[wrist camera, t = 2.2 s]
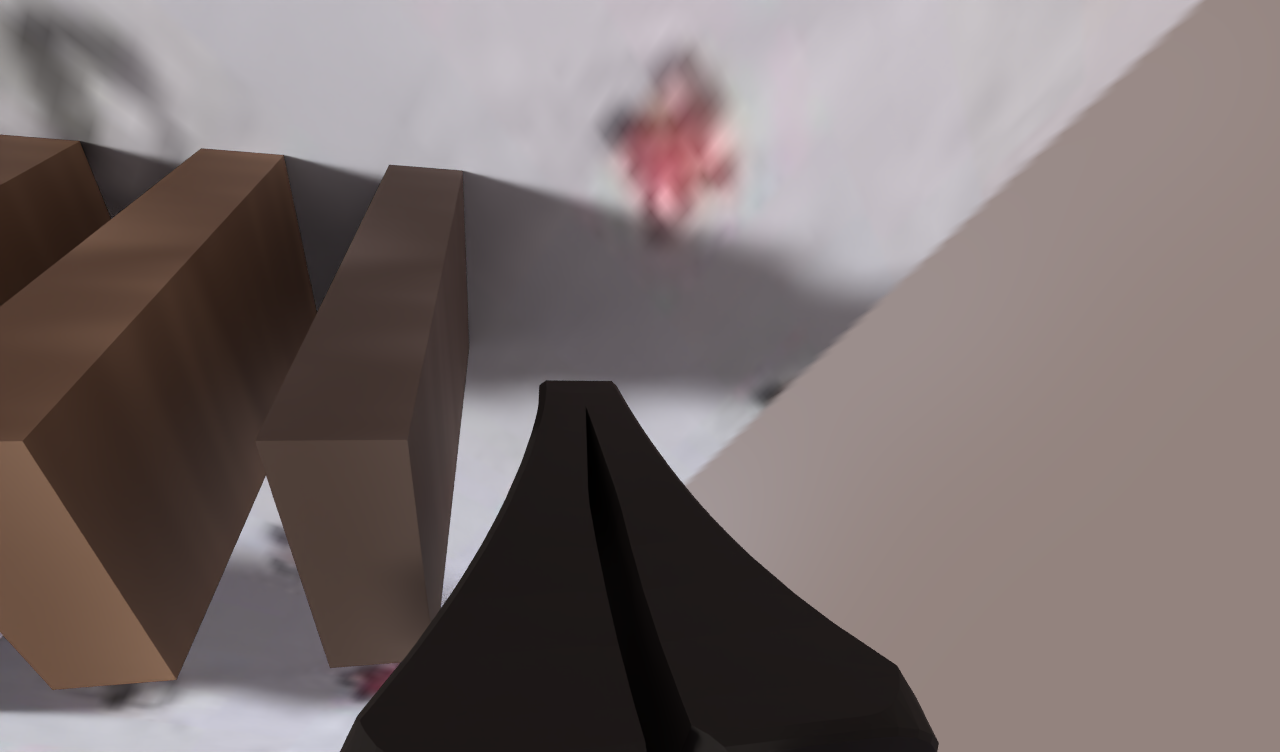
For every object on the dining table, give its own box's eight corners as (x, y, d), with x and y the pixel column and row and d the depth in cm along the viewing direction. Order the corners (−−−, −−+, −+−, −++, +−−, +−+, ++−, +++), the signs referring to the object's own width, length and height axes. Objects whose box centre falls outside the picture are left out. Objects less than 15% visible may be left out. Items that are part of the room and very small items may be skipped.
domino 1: (283, 155, 13) (22, 441, 6) (323, 343, 16) (176, 679, 9) (200, 148, 13) (-173, 442, 6) (257, 342, 16) (52, 690, 9)
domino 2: (462, 171, 14) (407, 439, 7) (469, 347, 17) (434, 659, 10) (389, 164, 14) (254, 441, 7) (408, 346, 17) (330, 668, 10)
